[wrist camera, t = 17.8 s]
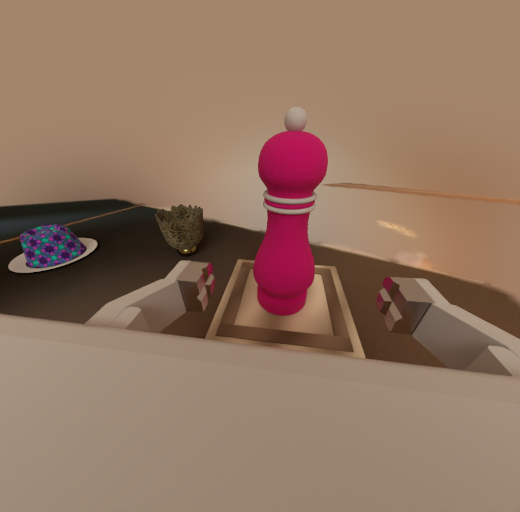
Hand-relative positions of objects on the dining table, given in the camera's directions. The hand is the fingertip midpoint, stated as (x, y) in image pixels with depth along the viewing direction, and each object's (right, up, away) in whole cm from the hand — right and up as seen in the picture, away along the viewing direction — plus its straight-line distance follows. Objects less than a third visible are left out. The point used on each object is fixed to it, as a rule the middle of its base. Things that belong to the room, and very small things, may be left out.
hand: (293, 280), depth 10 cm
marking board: (+2, -5, +17) cm, 18 cm away
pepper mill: (+1, -4, +16) cm, 17 cm away
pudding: (-38, +1, +27) cm, 47 cm away
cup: (-15, +2, +27) cm, 31 cm away
